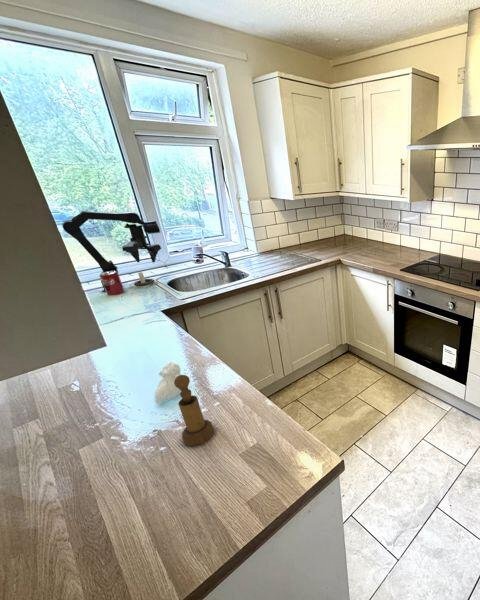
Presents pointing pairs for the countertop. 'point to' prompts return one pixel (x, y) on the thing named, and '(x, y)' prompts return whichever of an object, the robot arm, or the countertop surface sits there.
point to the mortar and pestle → (192, 415)
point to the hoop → (148, 282)
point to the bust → (167, 383)
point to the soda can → (112, 283)
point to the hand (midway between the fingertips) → (146, 262)
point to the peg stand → (142, 280)
